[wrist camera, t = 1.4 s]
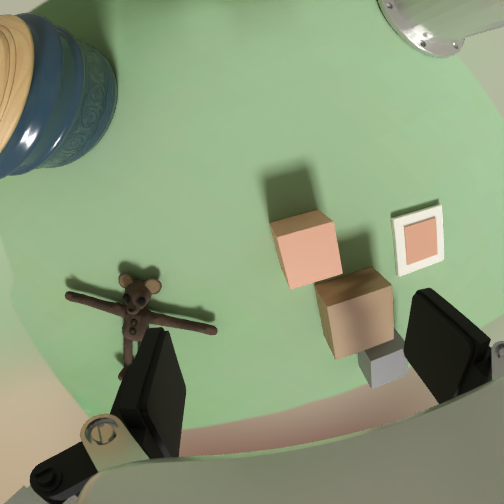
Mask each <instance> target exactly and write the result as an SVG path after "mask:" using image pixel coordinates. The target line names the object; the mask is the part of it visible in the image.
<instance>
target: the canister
mask: <svg viewBox="0 0 504 504" xmlns="http://www.w3.org/2000/svg"><path fill="white" fill-rule="evenodd" d="M116 104H117V81H116V77H115V74H114V72H113V69H112V67H111V65H110V64H109V62H108V60H107V59H106V58H105V56H104V55H103V54H102V53H101V52H99V51H98V50H97V49H95V48H94V47H92V46H90V45H88V44H85V43H82V42H81V41H79V40H77V39H76V38H75V37H74V36H73V35H72V34H71V33H70V32H69V31H67V30H66V29H64V28H62V27H60V26H57V25H53V23H52V22H51V21H50V20H48V19H47V18H46V17H44V16H42V15H40V14H36V13H22V14H17V15H0V179H2V178H4V177H6V176H8V175H10V176H14V175H21V174H25V173H27V172H30V171H32V170H34V169H39V168H54V167H59V166H64V165H67V164H69V163H72V162H74V161H76V160H77V159H79V158H81V157H82V156H84V155H85V154H87V153H88V152H89V151H90V150H92V149H93V148H94V147H95V146H96V145H97V144H98V142H99V141H100V140H101V139H102V137H103V136H104V134H105V133H106V131H107V129H108V127H109V125H110V123H111V121H112V119H113V116H114V113H115V109H116Z"/></svg>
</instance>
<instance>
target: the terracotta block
mask: <svg viewBox="0 0 504 504" xmlns="http://www.w3.org/2000/svg"><path fill="white" fill-rule="evenodd" d="M270 227H271V231H272V234H273V238H274V242H275V246H276V250H277V253H278V257H279V261H280V265H281V269H282V271H283V273H284V276H285V278H286V281H287V283H288V286H289V288H290V289H293V288H297V287H300V286H304V285H307V284H310V283H314V282H317V281H320V280H324V279H327V278H330V277H333V276H337V275H340V274H343V272H342V266H341V260H340V254H339V248H338V243H337V237H336V232H335V227H334V222H333V221H332V220H331V219H330V218H328V217H327V216H326V215H324V214H323V213H322V212H320V211H319V210H314V211H311V212H307V213H303V214H300V215H296V216H292V217H289V218H285V219H282V220H278V221H275V222H271V223H270Z"/></svg>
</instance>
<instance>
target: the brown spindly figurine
mask: <svg viewBox="0 0 504 504" xmlns="http://www.w3.org/2000/svg"><path fill="white" fill-rule="evenodd" d="M119 284H120V285H121V287H123V288H125V294H124V295H123V300H124V301H125V303H126V305H123V304H121V303H119V302H116V303H115V302H109V301H104V300H100V299H97V298H94V297H90V296H87V295H84V294H79V293H75V292H71V291H68V292H66V294H65V298H66V299H67V300H69V301H72V302H77V303H81V304H85V305H88V306H91V307H94V308H97V309H100V310H103V311H106V312H109V313H112V314H115V315H118V316H121V317H124V318H125V321H124V325H123V327H122V332H123V335H124V359H125V363H124V368H123V369H122V371H121V372H120V373H119V375H118V379H119V380H120V381H121V380H122V379H123V377H124V374H125V371H126V369H127V367H128V365H129V364H133V355H132V340H133V341H139V347H140V344H141V342H142V339H143V337H144V334H145V332H146V329H147V328H149V323H150V324H155V325H161V326H167V327H173V328H180V329H186V330H192V331H197V332H201V333H205V334H208V335H216V334H217V328H216V327H215V326H213V325H209V324H204V323H200V322H194V321H189V320H185V319H179V318H175V317H171V316H167V315H165V314H160V313H155V312H151V311H150V310H149V309H148V308H147V307H146V305H147V303H148V302H149V300H150V298H151V295H152V294H157V293H158V292H159V291H160V290H161V287H162V285H161V282H160V281H159V280H157V279H155V278H149V279H147V280H146V281H145V282H144V281H140V280H133V278H132V276H131V275H130V274H128V273H122V274H121V275H120V276H119Z"/></svg>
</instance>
